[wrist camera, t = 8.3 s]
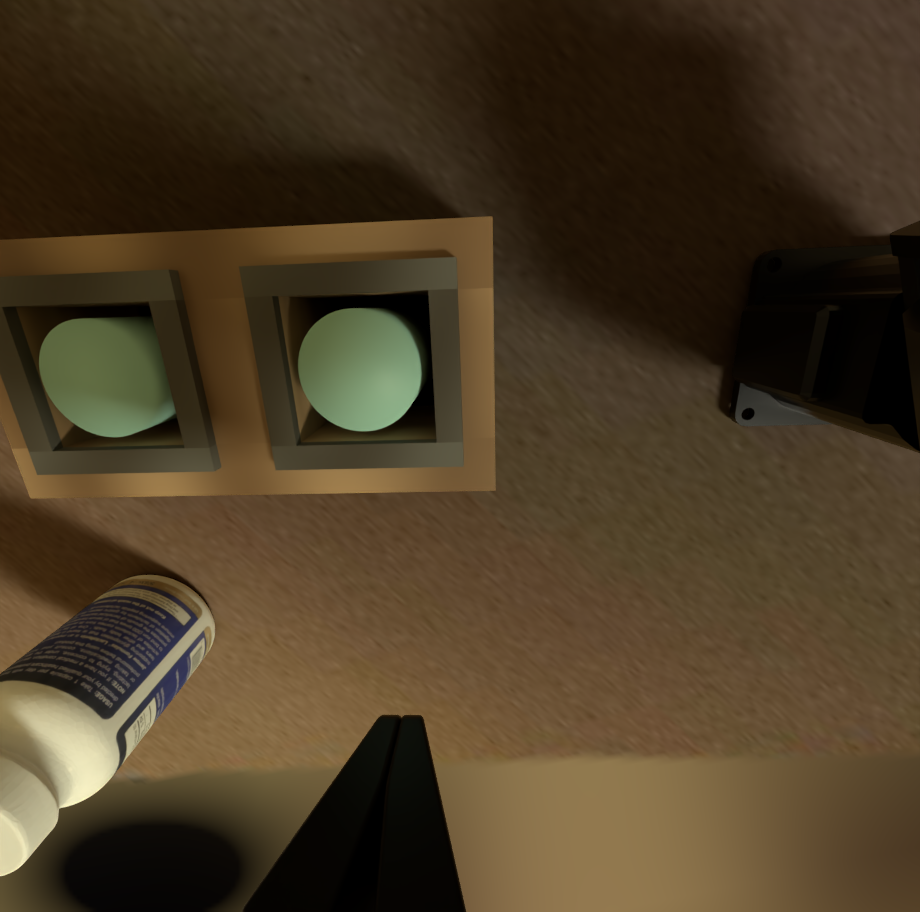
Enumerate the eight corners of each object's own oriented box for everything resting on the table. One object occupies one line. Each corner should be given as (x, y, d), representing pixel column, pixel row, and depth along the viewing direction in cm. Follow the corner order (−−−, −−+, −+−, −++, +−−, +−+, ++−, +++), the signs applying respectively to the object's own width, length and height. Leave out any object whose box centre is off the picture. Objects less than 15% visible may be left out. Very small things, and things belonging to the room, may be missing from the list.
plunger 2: (433, 305, 17) (414, 305, 12) (437, 396, 18) (423, 429, 14) (342, 309, 17) (289, 310, 13) (352, 399, 19) (307, 433, 14)
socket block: (488, 241, 17) (493, 213, 12) (491, 444, 19) (495, 495, 14) (81, 259, 17) (-83, 241, 12) (136, 452, 20) (19, 503, 15)
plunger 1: (233, 313, 18) (139, 316, 13) (250, 402, 19) (170, 436, 14) (147, 316, 18) (21, 320, 13) (169, 404, 19) (61, 438, 14)
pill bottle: (88, 584, 22) (-193, 786, 13) (186, 558, 22) (-37, 751, 12) (146, 670, 24) (-67, 904, 15) (238, 649, 23) (77, 880, 14)
